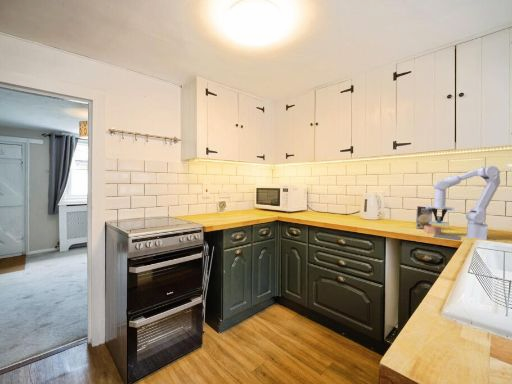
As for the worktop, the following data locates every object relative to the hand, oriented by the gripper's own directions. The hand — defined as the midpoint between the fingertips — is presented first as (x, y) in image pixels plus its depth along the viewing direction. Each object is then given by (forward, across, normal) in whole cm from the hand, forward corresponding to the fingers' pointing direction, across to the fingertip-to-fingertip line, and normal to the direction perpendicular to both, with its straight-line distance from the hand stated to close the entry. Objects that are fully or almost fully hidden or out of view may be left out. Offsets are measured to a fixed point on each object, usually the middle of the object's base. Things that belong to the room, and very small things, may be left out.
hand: (439, 220), depth 159 cm
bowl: (+9, -4, +5) cm, 11 cm away
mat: (+9, +5, -6) cm, 12 cm away
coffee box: (+9, -10, +20) cm, 24 cm away
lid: (+2, 0, 0) cm, 2 cm away
